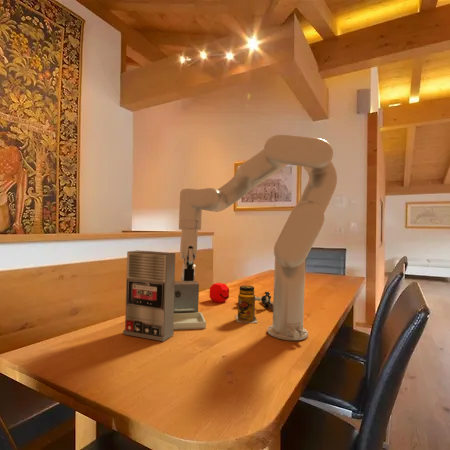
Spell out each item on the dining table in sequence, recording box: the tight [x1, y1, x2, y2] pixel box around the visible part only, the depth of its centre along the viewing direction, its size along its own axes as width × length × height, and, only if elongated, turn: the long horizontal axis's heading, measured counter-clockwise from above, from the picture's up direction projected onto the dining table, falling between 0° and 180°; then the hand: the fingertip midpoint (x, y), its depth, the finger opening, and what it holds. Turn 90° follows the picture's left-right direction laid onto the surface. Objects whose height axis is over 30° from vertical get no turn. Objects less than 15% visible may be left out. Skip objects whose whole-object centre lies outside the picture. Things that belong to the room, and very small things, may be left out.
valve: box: [255, 291, 272, 309], centre depth 129 cm, size 7×7×12 cm
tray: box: [173, 311, 207, 331], centre depth 105 cm, size 11×11×2 cm
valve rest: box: [260, 295, 273, 312], centre depth 130 cm, size 14×12×2 cm
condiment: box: [235, 285, 259, 324], centre depth 112 cm, size 7×8×12 cm
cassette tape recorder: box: [122, 249, 176, 343], centre depth 93 cm, size 14×6×25 cm, turn 70°
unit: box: [174, 280, 200, 313], centre depth 114 cm, size 7×10×12 cm
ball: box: [209, 282, 230, 304], centre depth 137 cm, size 8×8×8 cm
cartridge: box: [180, 261, 197, 282], centre depth 105 cm, size 4×4×6 cm
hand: (188, 278), depth 105 cm, fingers closed on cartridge, 4 cm apart
